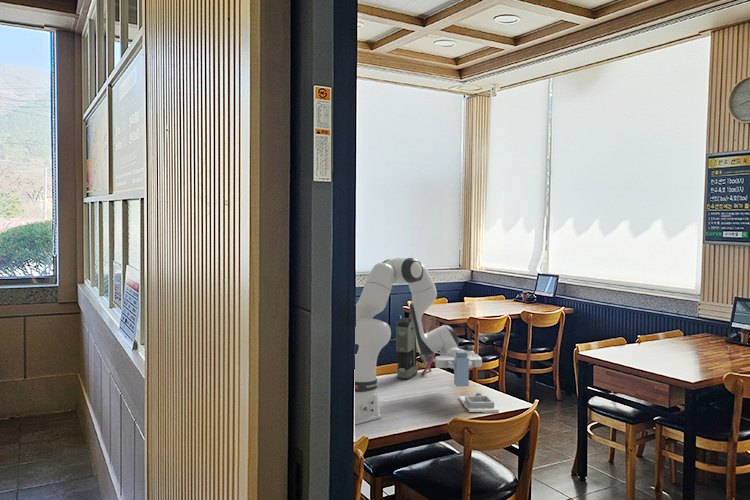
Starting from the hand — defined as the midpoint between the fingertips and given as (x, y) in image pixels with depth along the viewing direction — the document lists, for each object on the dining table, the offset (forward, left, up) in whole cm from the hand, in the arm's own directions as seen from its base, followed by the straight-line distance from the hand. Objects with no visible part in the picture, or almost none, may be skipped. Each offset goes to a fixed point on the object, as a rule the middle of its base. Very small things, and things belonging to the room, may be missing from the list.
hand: (462, 366), depth 239 cm
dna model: (+37, +44, -17) cm, 60 cm away
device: (+25, +48, -17) cm, 57 cm away
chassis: (+7, -4, -17) cm, 19 cm away
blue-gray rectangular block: (+1, +1, -8) cm, 8 cm away
